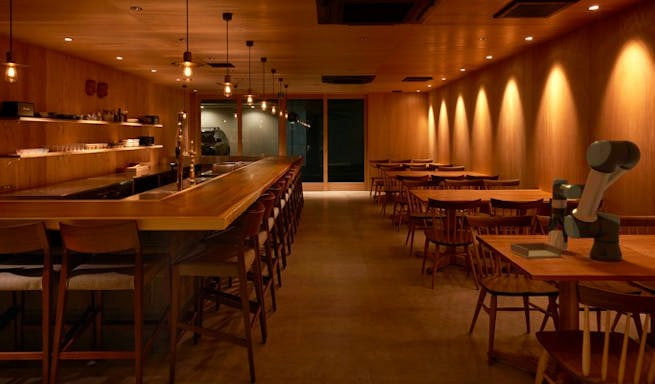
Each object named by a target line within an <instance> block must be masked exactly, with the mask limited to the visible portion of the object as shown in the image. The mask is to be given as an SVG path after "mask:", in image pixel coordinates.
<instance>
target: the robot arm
mask: <svg viewBox="0 0 655 384" xmlns="http://www.w3.org/2000/svg"><path fill="white" fill-rule="evenodd" d="M641 157H642V153H641V150H640V148H639V146H638V145H637V144H636V143H635V142H632V141H630V140H605V139H603V140H596V141H593V142H592V143H591V144H590V145H589V147H588V148H587V152H586V161H587V163H588V166H589V168H590V171H589V173H588V177H587V178H586V182H585V183H569V181H568V179H567V178H554V179H553V180H552V186H551V187H552V191H551V194H552V195H551V214H549V220H548V223H547V225H546V231H548V239H547V240H548V243H547V244H550V245H551V231H552V230H556V227H557V225H558V226H559V227H560V230H561V231H562V233H563V236H562V248H567V249H568V241H569V239H568V238H570V239H573V240H575V239H577V240H580V239H593V242H592V246H591V248H590V251H589V253H588V258H590V259H592V260H596V261H602V262H620V261H623V254H622V250H621V247H620V232H621V231H620V230H621V227H620V225H621V218H620V216H619V215H617V214H613V213H608V212H599V211H598V208H599V206H600V203H601V200H602V198H604V197H605V196H606V193H607V189H608V188H609V187H610V186H611V185H612V184H614V182H616V181H617V180H618V179H619V178H620V177H621V176H622V175H624V174H625V173H626V172H627V171H631V170H633V169H634V168H635V167H637V165H638V164H639V162H640V161H641ZM577 199H579V202H578V205H577V208H574V209H573V210H572V213H571V215H570V214H569V215H567V213H568V212H567V210H568V209H567V207H568V206H567V204H568V200H577ZM566 215H567V216H566Z"/></svg>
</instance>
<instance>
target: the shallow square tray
mask: <svg viewBox="0 0 655 384" xmlns="http://www.w3.org/2000/svg"><path fill="white" fill-rule="evenodd" d="M509 248H510V252H511V253H513V254H515V255H518V256H521V257H523V258H525V259H541V258H542V259H546V258H548V259H549V258H562V252H563V251H562V248H559V247H556V246H553V245H551V244H549V243H546V242H540V241H538V242H517V243H516V242H515V243H514V242H512V243H510V247H509Z"/></svg>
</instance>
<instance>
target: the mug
mask: <svg viewBox="0 0 655 384" xmlns="http://www.w3.org/2000/svg"><path fill="white" fill-rule="evenodd" d="M562 236H563V233H562V231H561V229H559V230H557V229H554V230H552V231H551V244H550V245H553V246H556V247H559V248H562ZM567 250H568V247H567V248H562V252H566V251H567Z"/></svg>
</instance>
